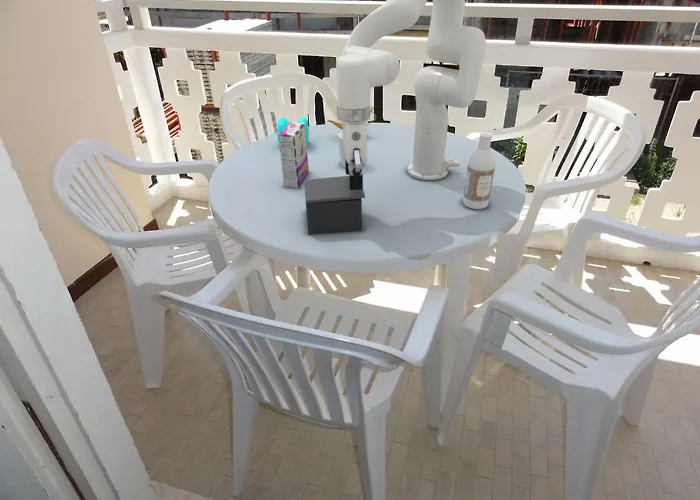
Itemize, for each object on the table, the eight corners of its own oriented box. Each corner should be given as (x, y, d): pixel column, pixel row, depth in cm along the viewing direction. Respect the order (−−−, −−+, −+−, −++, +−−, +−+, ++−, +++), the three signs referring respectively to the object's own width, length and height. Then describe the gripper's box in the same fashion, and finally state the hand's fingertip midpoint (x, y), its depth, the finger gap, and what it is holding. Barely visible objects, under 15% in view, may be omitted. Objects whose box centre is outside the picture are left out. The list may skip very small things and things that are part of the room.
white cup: (335, 167, 154) (334, 137, 149) (344, 158, 160) (344, 129, 155) (358, 171, 152) (358, 141, 146) (366, 161, 158) (367, 132, 152)
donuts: (307, 151, 166) (305, 122, 160) (278, 151, 166) (275, 122, 160) (309, 140, 174) (308, 113, 169) (282, 140, 174) (279, 113, 169)
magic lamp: (326, 135, 178) (325, 106, 172) (373, 132, 180) (374, 103, 174) (328, 142, 172) (327, 112, 166) (377, 139, 174) (378, 108, 168)
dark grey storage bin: (355, 208, 132) (355, 179, 127) (361, 230, 122) (361, 200, 117) (306, 211, 131) (304, 182, 126) (308, 234, 121) (306, 203, 116)
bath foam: (469, 211, 130) (479, 140, 119) (458, 199, 136) (467, 131, 124) (492, 208, 131) (505, 138, 120) (481, 196, 137) (492, 128, 126)
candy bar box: (293, 171, 152) (289, 121, 143) (309, 172, 151) (305, 122, 142) (282, 187, 143) (277, 134, 134) (299, 188, 142) (294, 135, 133)
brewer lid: (358, 177, 127) (358, 156, 123) (365, 198, 117) (364, 176, 114) (304, 182, 126) (302, 161, 122) (306, 203, 116) (303, 181, 113)
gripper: (375, 124, 104) (374, 196, 114) (364, 100, 118) (363, 166, 128) (341, 126, 103) (342, 198, 113) (334, 102, 118) (335, 167, 128)
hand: (354, 181), depth 121 cm, fingers open, 8 cm apart
